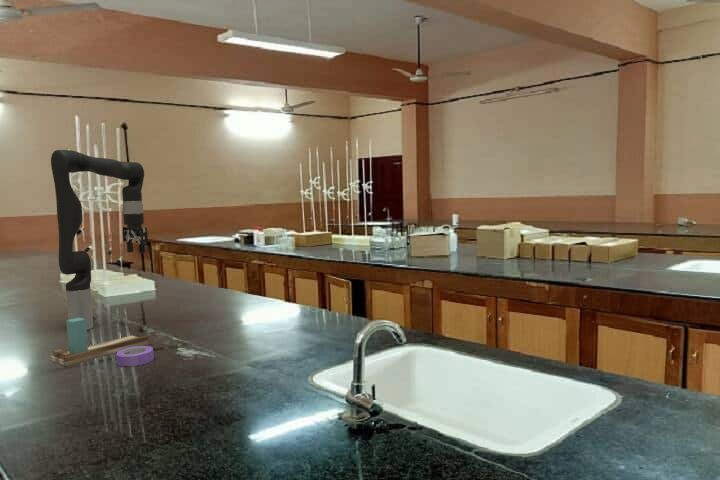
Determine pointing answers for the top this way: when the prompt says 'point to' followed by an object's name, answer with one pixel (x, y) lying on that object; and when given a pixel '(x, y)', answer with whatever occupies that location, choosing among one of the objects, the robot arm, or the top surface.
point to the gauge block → (77, 335)
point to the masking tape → (135, 356)
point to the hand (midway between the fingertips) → (136, 252)
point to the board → (97, 350)
